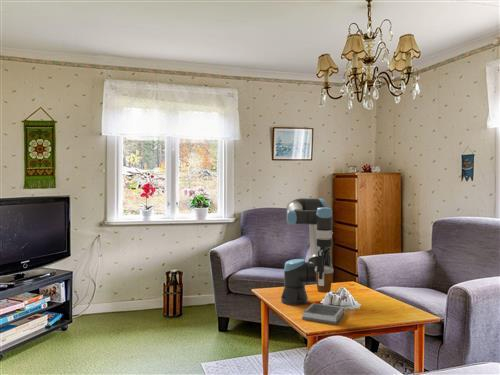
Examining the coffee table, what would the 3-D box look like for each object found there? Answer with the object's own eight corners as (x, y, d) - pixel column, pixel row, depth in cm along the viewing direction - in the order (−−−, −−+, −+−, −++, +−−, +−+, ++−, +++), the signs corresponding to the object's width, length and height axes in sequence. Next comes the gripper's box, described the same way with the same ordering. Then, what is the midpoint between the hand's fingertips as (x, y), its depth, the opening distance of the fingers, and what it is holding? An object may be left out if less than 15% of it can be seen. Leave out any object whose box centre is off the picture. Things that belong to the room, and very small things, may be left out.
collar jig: (302, 319, 198) (302, 312, 198) (312, 309, 213) (312, 302, 213) (336, 324, 191) (336, 317, 191) (344, 314, 206) (344, 307, 206)
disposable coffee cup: (329, 294, 195) (329, 270, 195) (311, 291, 200) (311, 267, 200) (336, 290, 203) (336, 266, 203) (318, 287, 208) (318, 264, 208)
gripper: (325, 241, 190) (325, 289, 190) (337, 236, 210) (336, 279, 210) (310, 240, 193) (310, 287, 194) (322, 235, 213) (322, 277, 213)
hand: (323, 283), depth 202 cm, fingers closed on disposable coffee cup, 9 cm apart
